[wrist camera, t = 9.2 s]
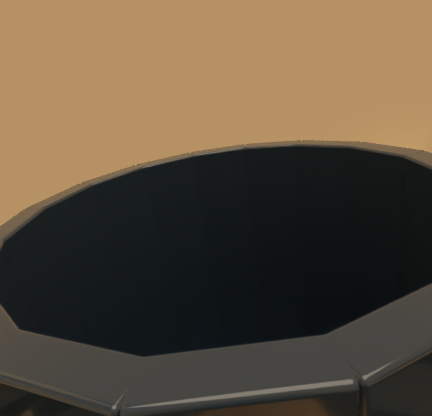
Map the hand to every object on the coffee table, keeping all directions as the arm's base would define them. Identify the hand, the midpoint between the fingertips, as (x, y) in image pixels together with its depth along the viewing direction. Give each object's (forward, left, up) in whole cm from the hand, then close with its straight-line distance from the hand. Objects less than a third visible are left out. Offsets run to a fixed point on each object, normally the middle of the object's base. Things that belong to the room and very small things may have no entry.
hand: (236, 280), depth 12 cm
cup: (0, -5, -6) cm, 8 cm away
